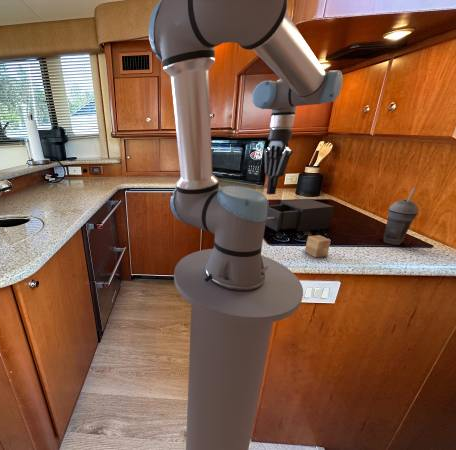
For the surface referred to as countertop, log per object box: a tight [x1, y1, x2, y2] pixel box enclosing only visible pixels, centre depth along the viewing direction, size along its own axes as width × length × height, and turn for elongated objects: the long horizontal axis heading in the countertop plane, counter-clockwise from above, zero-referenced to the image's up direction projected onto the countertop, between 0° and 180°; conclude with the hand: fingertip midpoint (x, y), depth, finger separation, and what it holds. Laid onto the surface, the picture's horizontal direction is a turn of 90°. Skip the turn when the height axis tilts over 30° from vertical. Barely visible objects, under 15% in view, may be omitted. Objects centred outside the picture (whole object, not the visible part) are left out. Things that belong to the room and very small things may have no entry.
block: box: [304, 234, 332, 258], centre depth 78 cm, size 4×4×6 cm
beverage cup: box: [382, 187, 419, 246], centre depth 82 cm, size 7×7×20 cm
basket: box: [265, 204, 301, 232], centre depth 99 cm, size 19×11×8 cm, turn 102°
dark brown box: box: [279, 198, 335, 233], centre depth 102 cm, size 15×13×10 cm
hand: (270, 193), depth 93 cm, fingers closed
